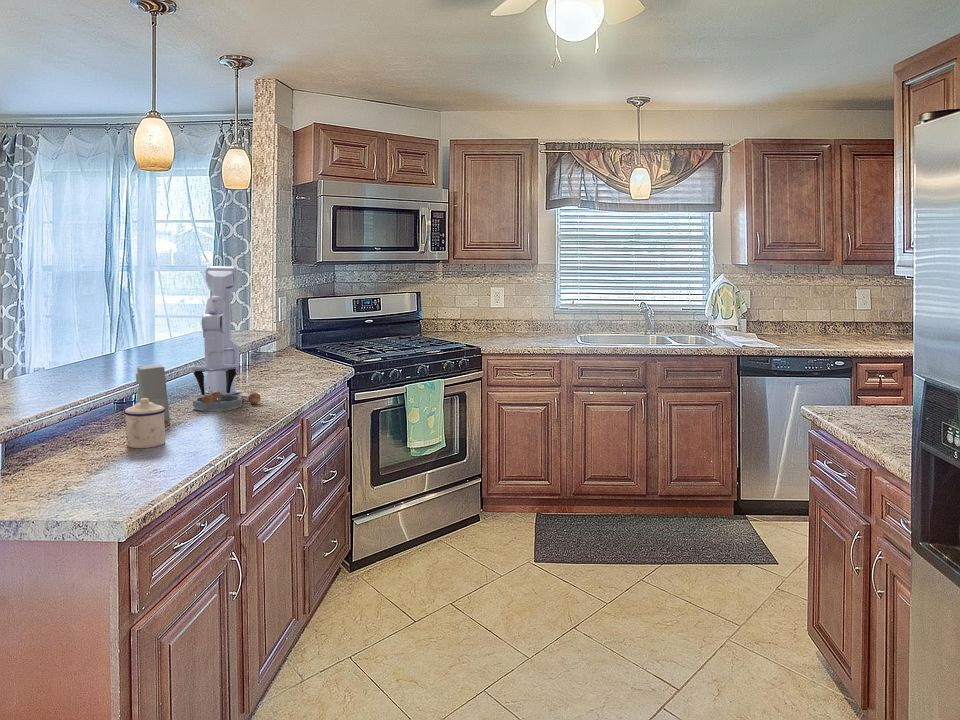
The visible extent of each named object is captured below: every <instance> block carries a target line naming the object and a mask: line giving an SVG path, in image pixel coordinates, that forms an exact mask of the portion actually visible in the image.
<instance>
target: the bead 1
mask: <svg viewBox="0 0 960 720" xmlns="http://www.w3.org/2000/svg"><path fill="white" fill-rule="evenodd" d="M211 395H213V396H214V397H215V398H221V399H222V394H221V393H220V392H219V391H213V392H212V393H211Z"/></svg>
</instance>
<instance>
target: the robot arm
mask: <svg viewBox="0 0 960 720" xmlns="http://www.w3.org/2000/svg"><path fill="white" fill-rule="evenodd" d="M204 273H205V274H204V275H205V281H206V283H207V287H208V289H209V291H210V292H211V296H210V297H208V299H207V300H206V305H205V306H206V307H205V312H204V315H202V317H201V321H200V322H201V329H202V337H203V338H204V339H203V338H202V339H203V340H204V341H203V342H204V343H203V344H204V364H203V365H199V364H198V365H190V366H189V373H191V374H193V376H194V377H195V379H196V382H197V384H198V386H199V389H200V394H201V395H202V396H205V395H206V394H211V393H212V392H213V391H219V392H220V393H221V394H230V395H235V394H240V393H242V390H237V389H236V388H237V387H236V386H237V385H236V383H237V382H236V375H237V371H240V347H239V345H238V344H237V343H236V342H234V341H233V340H232V339H231V319H232V317H231V307H232V306H231V302H232V301H231V299H232V295H233V293H235V292H237V291H238V290H237V289H238V286H239V285H238V281H239V278H238V277H239V276H238V275H239V274H238V268H237V267H236V266H235V265H233V266H222V265H221V266H219V265H218V266H217V265H216V266H214V265H212V266H211V265H207V267H205V272H204ZM204 373H206V391H205V375H204Z"/></svg>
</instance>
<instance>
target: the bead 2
mask: <svg viewBox="0 0 960 720" xmlns="http://www.w3.org/2000/svg"><path fill="white" fill-rule="evenodd" d="M247 398H248V399H247V400H248V402H249V403H250V404H252V405H256V404H258V403H260V401H261V395H260V394H259V393H258V392H254V391H253V392H251V393H250V394H249V395H248V397H247Z"/></svg>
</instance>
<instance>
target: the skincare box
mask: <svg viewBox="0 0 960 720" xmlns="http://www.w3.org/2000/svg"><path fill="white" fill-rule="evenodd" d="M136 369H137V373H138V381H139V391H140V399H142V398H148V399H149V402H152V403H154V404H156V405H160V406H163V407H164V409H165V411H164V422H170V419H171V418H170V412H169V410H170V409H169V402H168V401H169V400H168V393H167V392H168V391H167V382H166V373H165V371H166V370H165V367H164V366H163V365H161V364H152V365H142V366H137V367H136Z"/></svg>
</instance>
